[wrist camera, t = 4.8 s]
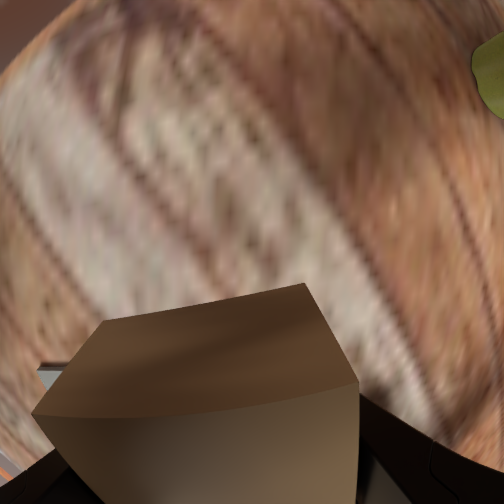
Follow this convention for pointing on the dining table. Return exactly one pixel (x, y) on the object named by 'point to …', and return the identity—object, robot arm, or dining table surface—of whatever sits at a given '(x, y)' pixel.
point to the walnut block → (211, 406)
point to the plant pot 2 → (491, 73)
